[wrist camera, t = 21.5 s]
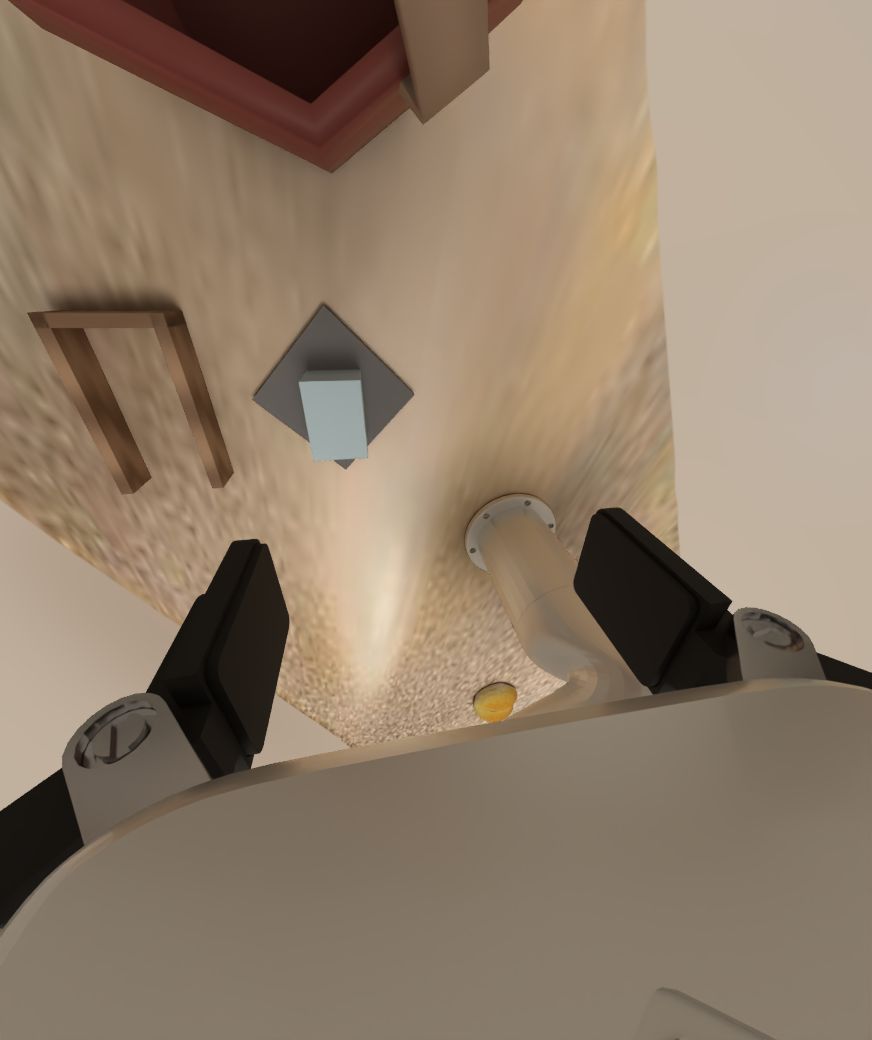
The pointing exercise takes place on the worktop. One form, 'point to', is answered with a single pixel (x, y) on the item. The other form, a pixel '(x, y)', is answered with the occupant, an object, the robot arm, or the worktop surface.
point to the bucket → (291, 59)
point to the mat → (332, 350)
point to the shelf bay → (98, 400)
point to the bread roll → (495, 702)
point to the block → (334, 414)
